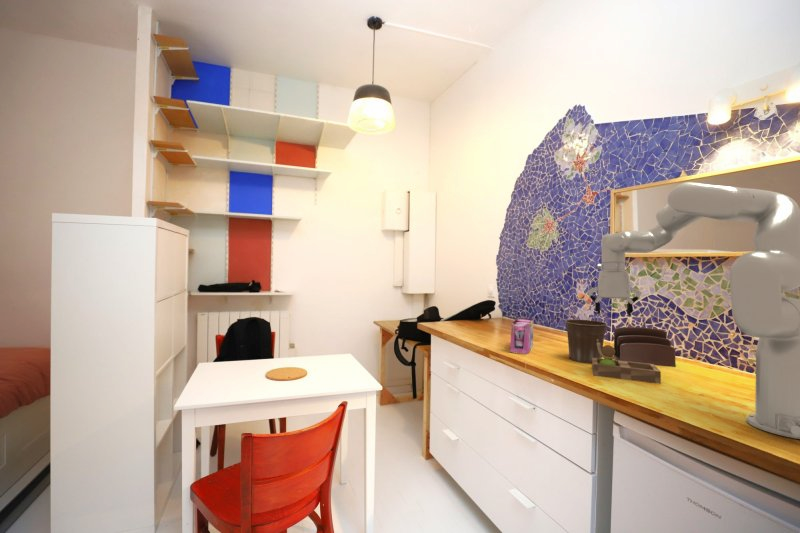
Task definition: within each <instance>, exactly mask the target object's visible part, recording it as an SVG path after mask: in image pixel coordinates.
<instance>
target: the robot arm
mask: <svg viewBox="0 0 800 533" xmlns="http://www.w3.org/2000/svg"><path fill="white" fill-rule="evenodd" d="M655 218H656V221H657V223H658V224H657V225H656V226H654V227H652V228H650V229H649V230H647V231H639V230H638V231H637V230H622V231H619V232H615V233H607V234H604V235H602V237H601V263H599V264H596V265H597V267H596V269H601V270H600V271H599V273H598V278H597V279H598V280H597V286H594V287H592V288H590V289H588V290H587V291H586V293H587V294H588V296H589V298H590V299H591V300H592V301H593V302H594V303H595V304H594V305H595V308H594V309H595V310H594V312H597V314H598V315H599V314H601V302H600V301H601V300H602V299H619V300H621V299H624V300H626V302H627V304H626V314H627V315H628V316H631V314H632V313H633V304H635V302H636V301H638V300H639V298H640V296H642V291H639V290H637V289H635V288H633V287H631V284H630V283H631V280H630V274H629V271H627V270H626V253H630V254H631V253H633V254H635V253H637V254H638V253H639V254H648V253H651V252H654V251H656V250H658V249H660V248H662V247H664V246H666V245H667V244H668V243H670V242H672V241H673V239H674V238H675V237H676V236H677V234H678V232H679V231H680V230H682V229H684V228H686V227H687V226H689V225H691V224H693V223H694V222H696V221H699V220H700V219H702V218H708V219H713V220H717V221H718V220H720V221H727V222H728V221H729V222H742V223H743V222H744V223H754V224H756V227H755V229H754V232H753V235H752V236H753V238H752V240H753V246H754V247H753V251H751V252H745V253H743V254H742V255H740V256H738V257H737V258H736V259H735V260H734V262H733V263H732V265H731V268H730V270H729V287H730V288H729V289H730V301H731V302H730V305H731V313H732V318H733V321H734V324H735V326H736V327H737V328H738V329H739V330H740V331H741V332H742V333H743V334H745V335H747V336H750V337H753V338H758V342H757V344H756V349H755V350H756V351H755V400H754V401H755V406H754V407H755V412H754V413H751V414H748V415H746V422H747V423H748V424H749V425H751V426H752V427H754V428H756V429H759V430H762V431H763V432H767V433H771V434H774V435H778V436H782V437H784V438H785V437H786V438H792V439H796V440H797V439H798V440H800V299H798V298H795V297H788V296H782V292H786V291H792V290H797V289H798V288H800V206H799V204H798V203H797V202H796V201H795V199H794V198H791V197H790V196H789V195H786V194H783V193H780V192H776V191H772V190H765V189H758V188H746V187H738V186H730V185H729V186H728V185H718V184H716V185H715V184H709V183H702V182H701V183H700V182H695V181H688V182H687V181H686V182H682V183H679V184H678V185H676V186H675V187H673V188H671V191H669V194H668V196H667V204H665V205H664V206H662V207H661V208H660V209H658V211H657V212H656V215H655ZM596 291H597V297H595V296H594V294H593V293H594V292H596ZM631 293H634V294H635V295H634V297H632V298H631Z"/></svg>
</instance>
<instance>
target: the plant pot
mask: <svg viewBox="0 0 800 533" xmlns="http://www.w3.org/2000/svg"><path fill="white" fill-rule="evenodd" d="M564 323H565V329H566V332H567V342H568V344H567V345H568V356H569V359H571V361H574V362H578V363H584V364H591V363H592V358H602V359H603V357H602V356H600V354H599V352H598V347H597V343H598V342H599V343H600V344H601V350H602V347H603V346H604V340H605V334H606V331H607V326H608V323H607V322H604V321H599V320H590V319H579V318H578V319H574V318H572V319H571V318H570V319H565V320H564ZM597 339H598V341H597Z"/></svg>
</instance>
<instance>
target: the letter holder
mask: <svg viewBox="0 0 800 533" xmlns="http://www.w3.org/2000/svg"><path fill="white" fill-rule="evenodd" d="M613 331H614V332H613V348H614V349H615V355H614V356H613V357H615V358H614V360H621V361H630V362H640V363H649V364H654V365H655V366H656V367H658V366H661V367H671V368H675V367H676V366H677V364H676V348H675V347H674V346H672V341H671V339H669V338H668V334H667V331H666V330H662V329H657V328H650V327H641V326H640V327H639V326H625V327H621V326H620V327H615V328H614V330H613Z"/></svg>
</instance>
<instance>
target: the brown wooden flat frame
mask: <svg viewBox="0 0 800 533" xmlns="http://www.w3.org/2000/svg"><path fill="white" fill-rule="evenodd" d="M602 359H603V357H602V358H592V362H591V370H592V376H595V377H602V378H611V379H619V380H627V381H635V382H643V383H650V384H651V383H652V384H661V382H662V380H661V378H662V377H661V376H662V375H661V373H662V371H661V370H660V369H659V368H658V366H657V365H654V364H649V363H640V362H630V361H621V360H616V359H612V361H614V363H615V365H616V366H615V365H606V364H599V363H600V361H601V360H602Z"/></svg>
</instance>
